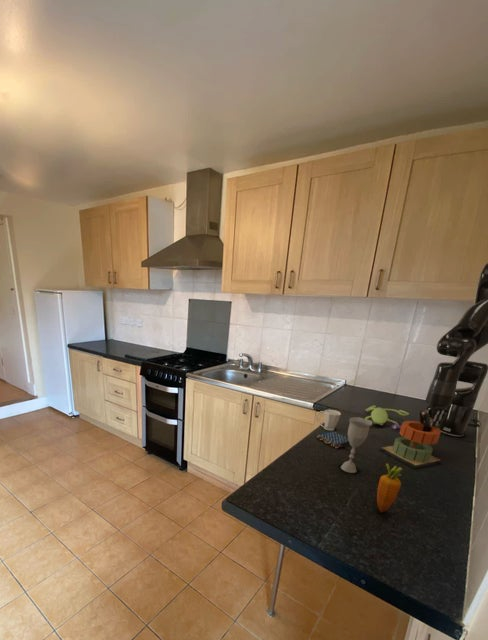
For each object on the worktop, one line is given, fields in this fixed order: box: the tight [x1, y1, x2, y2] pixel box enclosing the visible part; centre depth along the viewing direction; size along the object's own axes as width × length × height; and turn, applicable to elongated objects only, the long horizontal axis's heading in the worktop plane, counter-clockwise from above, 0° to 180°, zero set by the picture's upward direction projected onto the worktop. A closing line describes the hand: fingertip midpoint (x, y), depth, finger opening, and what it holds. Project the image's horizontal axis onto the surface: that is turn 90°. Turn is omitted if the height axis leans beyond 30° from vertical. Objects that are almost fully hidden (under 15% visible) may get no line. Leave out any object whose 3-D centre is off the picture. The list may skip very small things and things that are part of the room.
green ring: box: [392, 436, 434, 462], centre depth 125 cm, size 12×12×4 cm
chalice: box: [340, 416, 373, 474], centre depth 112 cm, size 7×7×18 cm
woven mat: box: [316, 431, 349, 449], centre depth 135 cm, size 10×11×2 cm
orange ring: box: [399, 420, 442, 445], centre depth 123 cm, size 12×12×4 cm
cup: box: [315, 408, 342, 432], centre depth 147 cm, size 7×10×8 cm
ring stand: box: [381, 440, 441, 466], centre depth 124 cm, size 14×14×10 cm
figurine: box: [357, 405, 410, 430], centre depth 159 cm, size 18×27×6 cm
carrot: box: [376, 463, 403, 514], centre depth 90 cm, size 5×5×15 cm
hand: (427, 434), depth 126 cm, fingers closed on orange ring, 2 cm apart
